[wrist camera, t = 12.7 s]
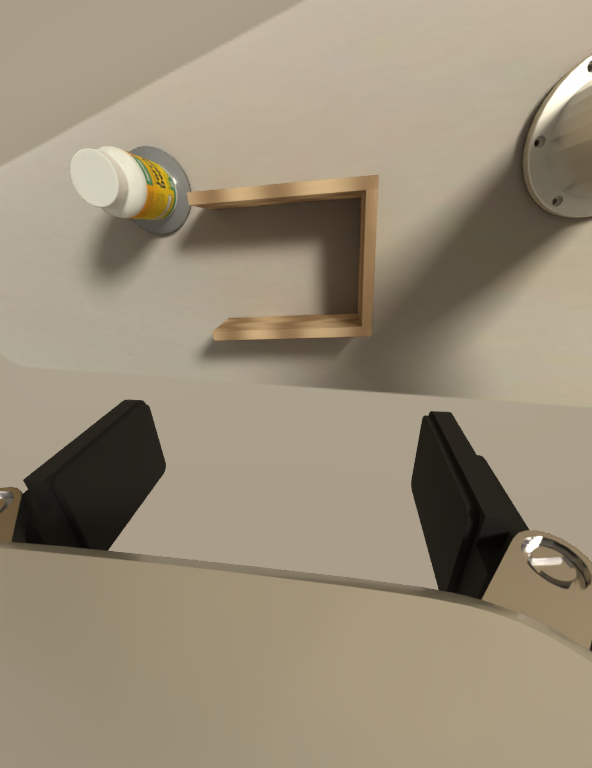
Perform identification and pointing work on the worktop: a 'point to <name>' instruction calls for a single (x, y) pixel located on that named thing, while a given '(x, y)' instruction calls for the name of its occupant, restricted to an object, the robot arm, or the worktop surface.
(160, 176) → the supplement bottle
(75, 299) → the worktop surface
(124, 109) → the worktop surface
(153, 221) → the slate coaster
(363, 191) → the wooden u-frame
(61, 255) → the worktop surface
